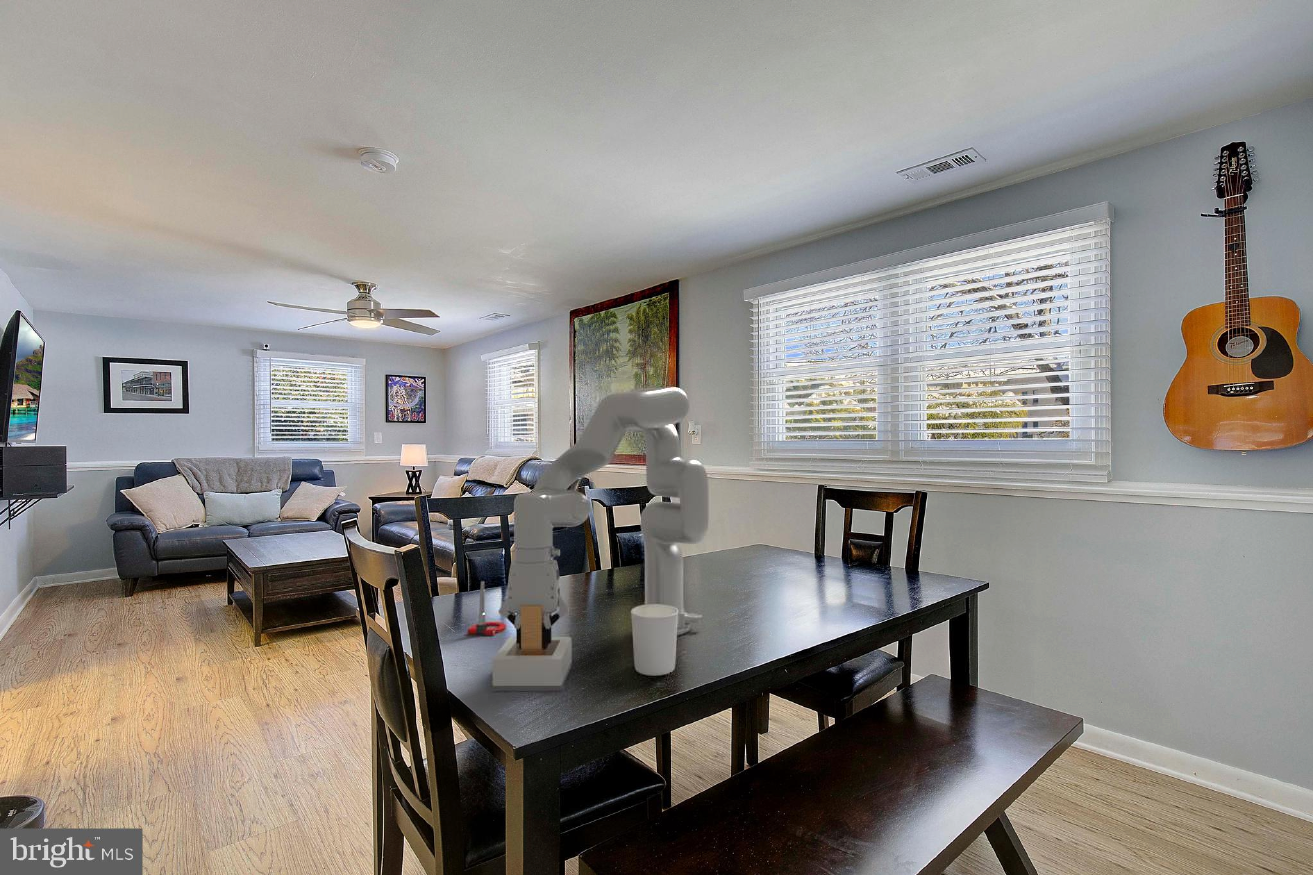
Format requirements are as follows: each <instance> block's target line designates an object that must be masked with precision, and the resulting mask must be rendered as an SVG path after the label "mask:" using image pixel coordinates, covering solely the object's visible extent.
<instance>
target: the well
mask: <svg viewBox="0 0 1313 875" xmlns="http://www.w3.org/2000/svg"><path fill="white" fill-rule="evenodd" d="M546 652H547V656H521V649H519V644H517V642H516V636H515V637H513V636H509V637H508V639H507V640H506V641H505V642H504V644H503V645H502V647H500V649H499V650H498V652H497V653H496V654H495V656H494V657H493V658H492V692H562V691H563V688H564V685H565V683H566V680H567V678H568V675H569V674H570V670H571V668H572V637H571V636H552V640H551V643H549V645H548V647H547V648H546Z"/></svg>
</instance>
